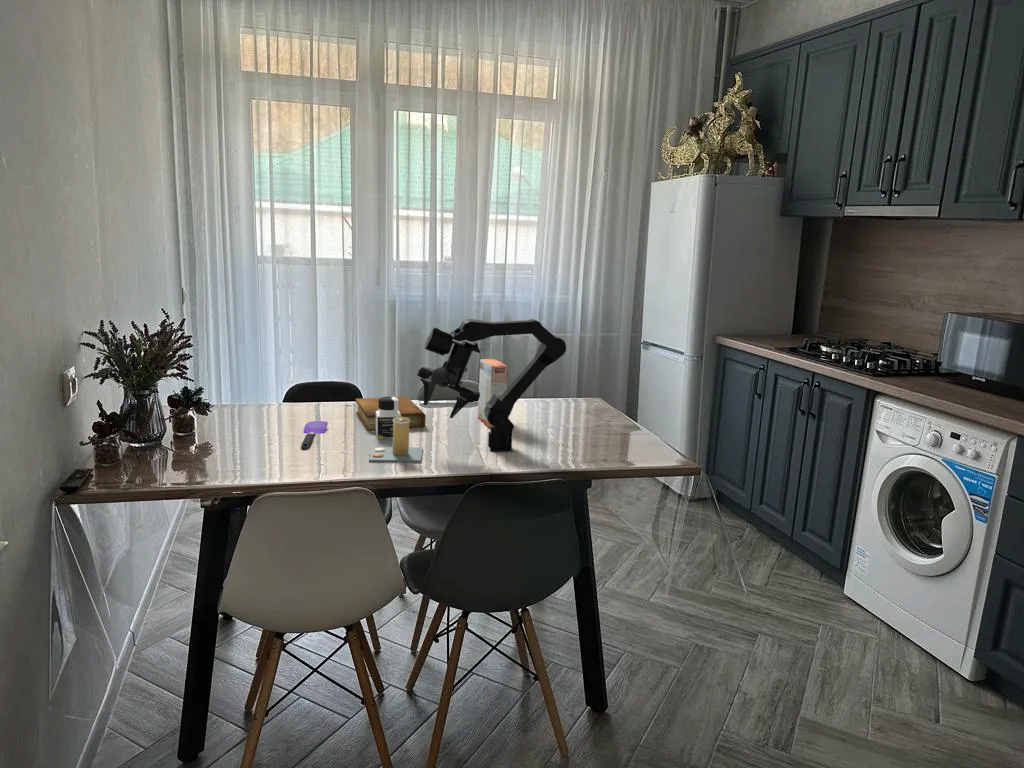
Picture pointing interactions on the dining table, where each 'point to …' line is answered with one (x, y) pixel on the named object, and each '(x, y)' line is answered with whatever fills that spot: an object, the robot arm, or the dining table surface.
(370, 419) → the diary
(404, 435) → the amber cup
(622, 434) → the dining table surface
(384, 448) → the card
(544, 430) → the dining table surface
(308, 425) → the spatula
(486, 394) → the cracker box
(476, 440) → the dining table surface
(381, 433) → the medicine bottle
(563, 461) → the dining table surface
